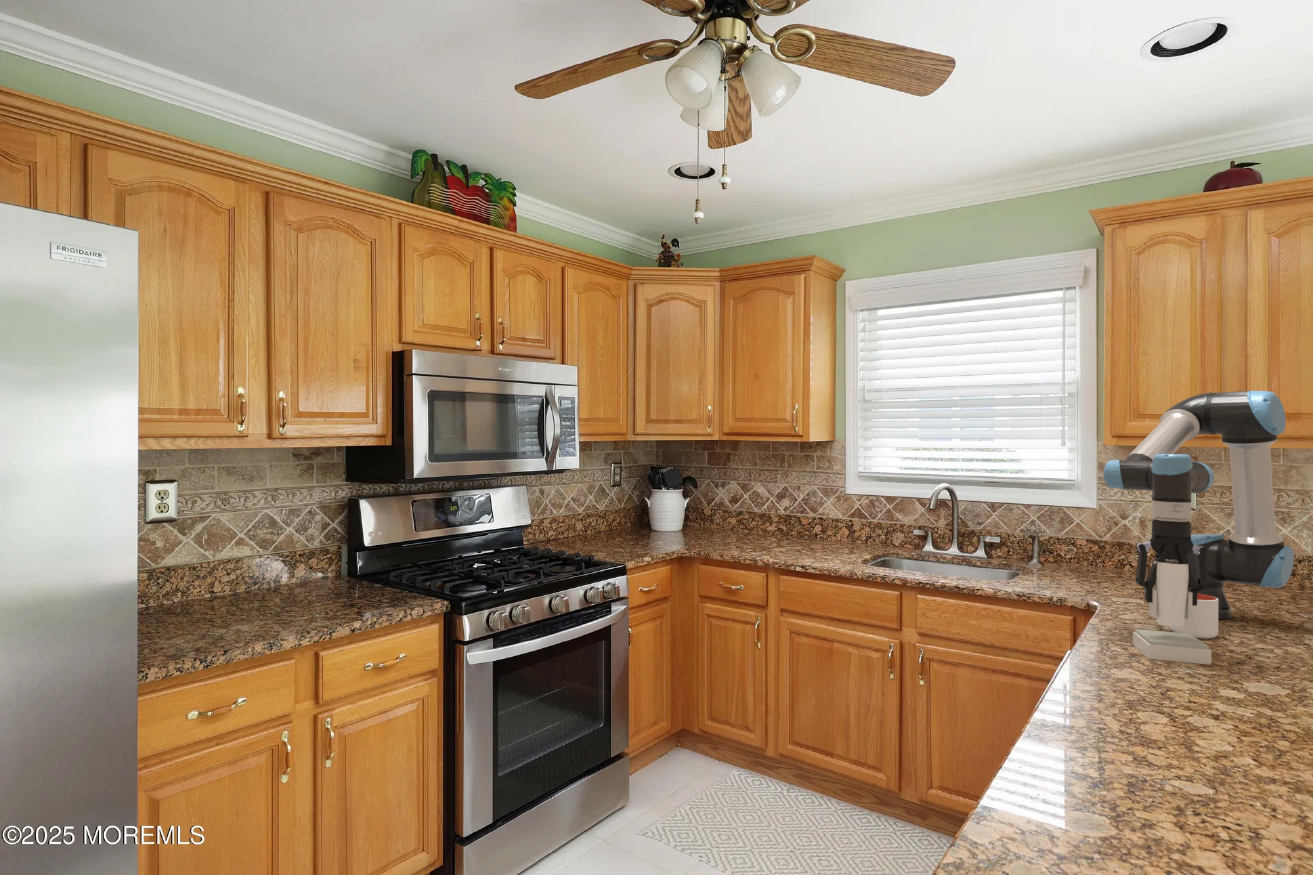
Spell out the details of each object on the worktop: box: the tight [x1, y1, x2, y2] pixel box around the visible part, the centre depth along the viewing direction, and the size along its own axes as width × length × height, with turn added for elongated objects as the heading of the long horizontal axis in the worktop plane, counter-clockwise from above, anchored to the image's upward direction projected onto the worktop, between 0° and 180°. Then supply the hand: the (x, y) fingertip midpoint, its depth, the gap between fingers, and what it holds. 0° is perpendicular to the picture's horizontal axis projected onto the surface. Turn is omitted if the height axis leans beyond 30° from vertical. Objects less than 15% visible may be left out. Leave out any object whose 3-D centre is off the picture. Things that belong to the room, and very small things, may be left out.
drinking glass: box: [1153, 559, 1189, 629], centre depth 167 cm, size 7×7×15 cm
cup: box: [1170, 594, 1219, 640], centre depth 185 cm, size 10×10×10 cm
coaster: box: [1132, 628, 1212, 666], centre depth 167 cm, size 12×12×4 cm
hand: (1170, 617), depth 167 cm, fingers closed on drinking glass, 6 cm apart
